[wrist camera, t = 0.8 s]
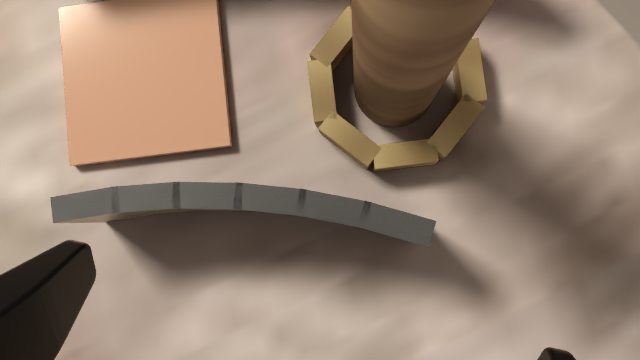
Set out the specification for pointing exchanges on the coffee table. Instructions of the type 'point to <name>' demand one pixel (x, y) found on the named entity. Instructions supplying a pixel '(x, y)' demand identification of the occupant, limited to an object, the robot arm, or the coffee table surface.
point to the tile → (143, 79)
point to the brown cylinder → (401, 74)
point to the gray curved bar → (237, 206)
